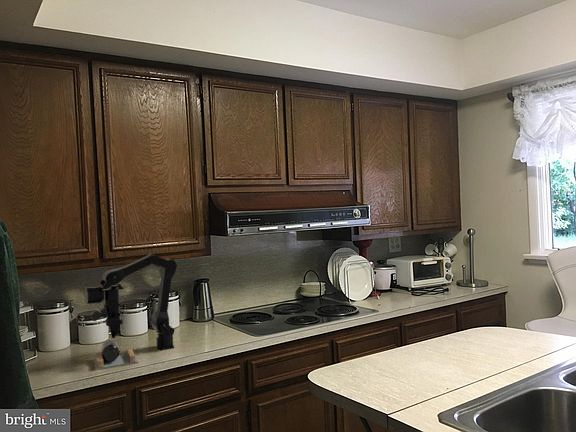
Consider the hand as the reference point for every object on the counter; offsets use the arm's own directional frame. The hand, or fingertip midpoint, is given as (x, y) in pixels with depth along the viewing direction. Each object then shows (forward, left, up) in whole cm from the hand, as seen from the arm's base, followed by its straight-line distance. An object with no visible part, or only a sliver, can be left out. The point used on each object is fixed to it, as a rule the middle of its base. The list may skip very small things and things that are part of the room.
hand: (113, 337), depth 197 cm
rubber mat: (0, +6, -8) cm, 10 cm away
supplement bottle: (+1, -2, -4) cm, 5 cm away
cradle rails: (0, +6, -8) cm, 10 cm away
